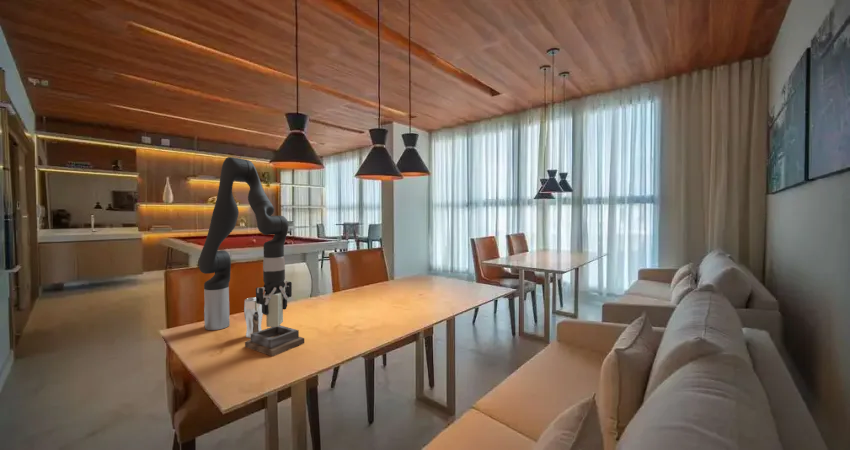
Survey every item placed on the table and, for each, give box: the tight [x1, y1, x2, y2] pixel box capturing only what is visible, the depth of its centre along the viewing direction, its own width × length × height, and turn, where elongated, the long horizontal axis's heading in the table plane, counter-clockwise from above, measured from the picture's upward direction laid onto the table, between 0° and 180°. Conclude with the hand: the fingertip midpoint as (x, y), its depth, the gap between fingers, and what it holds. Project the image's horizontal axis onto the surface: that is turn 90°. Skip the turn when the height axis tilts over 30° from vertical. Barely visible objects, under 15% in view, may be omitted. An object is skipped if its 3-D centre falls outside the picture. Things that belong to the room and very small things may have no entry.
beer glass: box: [243, 296, 264, 339], centre depth 142 cm, size 7×7×15 cm
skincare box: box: [265, 293, 284, 328], centre depth 132 cm, size 6×4×12 cm
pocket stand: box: [244, 324, 305, 357], centre depth 133 cm, size 16×14×5 cm
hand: (274, 311), depth 132 cm, fingers closed on skincare box, 7 cm apart
